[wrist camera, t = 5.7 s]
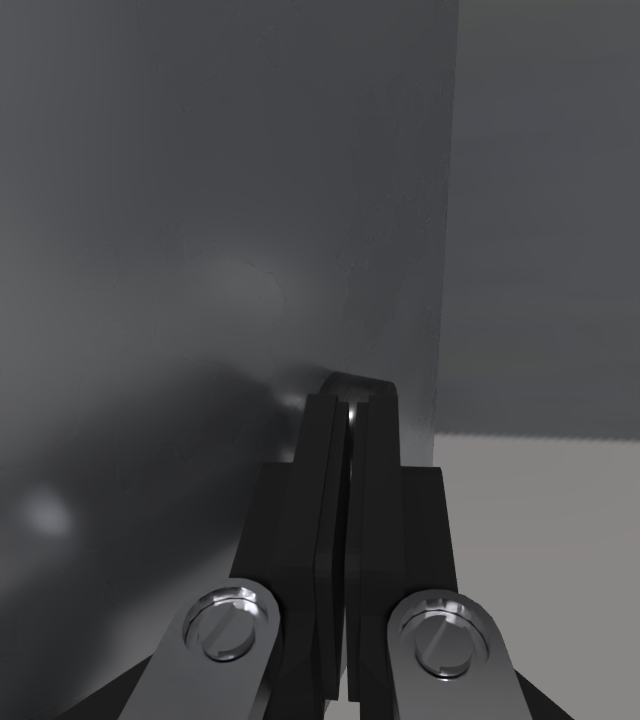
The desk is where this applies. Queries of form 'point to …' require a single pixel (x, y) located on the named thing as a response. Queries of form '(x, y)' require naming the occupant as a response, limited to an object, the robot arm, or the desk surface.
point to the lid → (196, 290)
